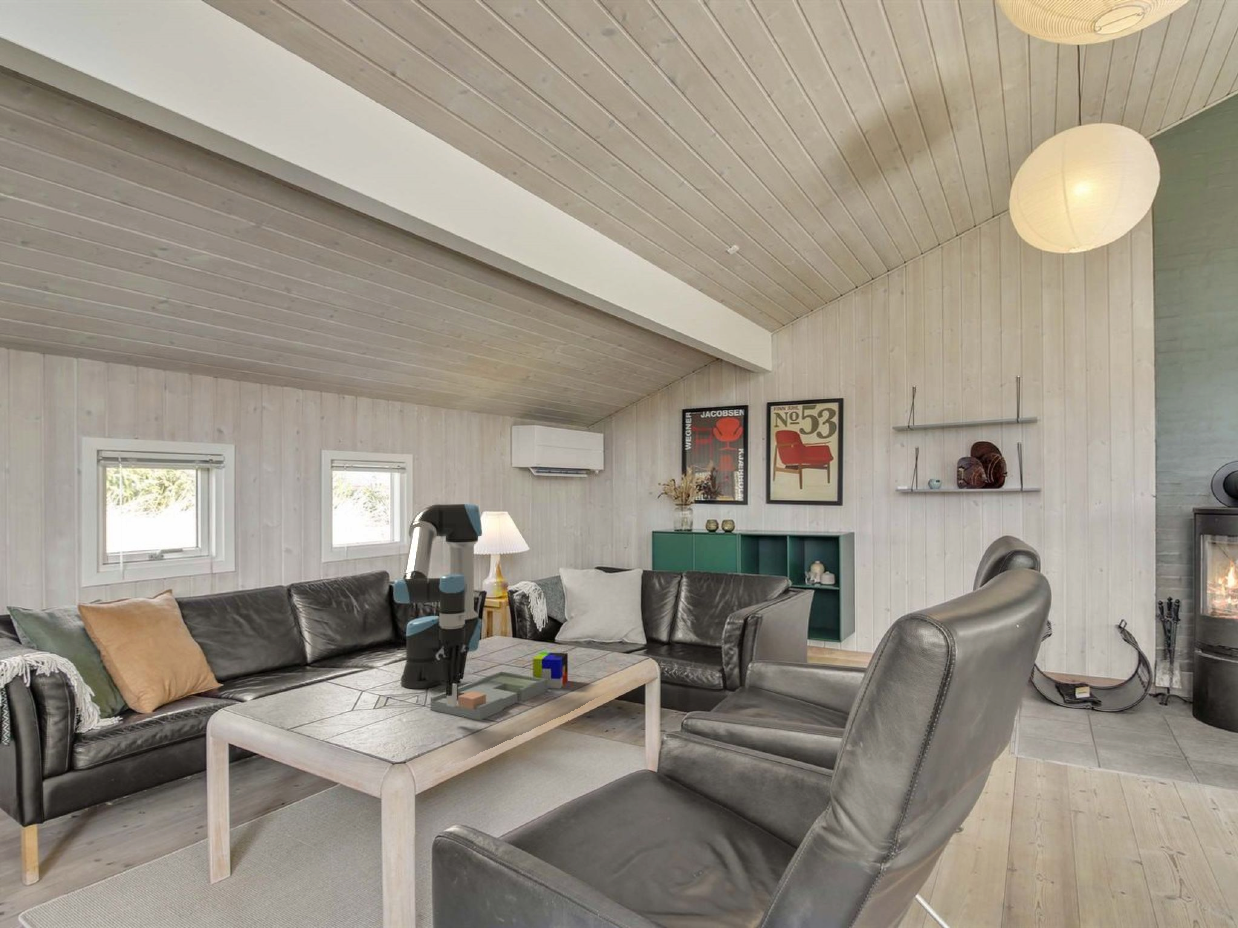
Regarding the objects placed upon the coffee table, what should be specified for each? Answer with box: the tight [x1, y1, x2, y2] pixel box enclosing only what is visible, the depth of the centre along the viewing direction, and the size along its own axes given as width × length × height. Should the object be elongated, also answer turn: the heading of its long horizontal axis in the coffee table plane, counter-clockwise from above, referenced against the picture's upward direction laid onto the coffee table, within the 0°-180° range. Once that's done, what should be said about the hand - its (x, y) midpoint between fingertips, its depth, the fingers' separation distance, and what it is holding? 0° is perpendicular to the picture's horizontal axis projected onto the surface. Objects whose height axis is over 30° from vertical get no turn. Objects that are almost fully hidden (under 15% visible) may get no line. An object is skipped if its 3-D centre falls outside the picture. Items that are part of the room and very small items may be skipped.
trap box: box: [429, 671, 548, 721], centre depth 231 cm, size 20×35×4 cm, turn 150°
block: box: [458, 691, 486, 709], centre depth 217 cm, size 6×6×3 cm
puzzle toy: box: [532, 651, 569, 689], centre depth 251 cm, size 10×10×10 cm
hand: (451, 705), depth 209 cm, fingers closed
